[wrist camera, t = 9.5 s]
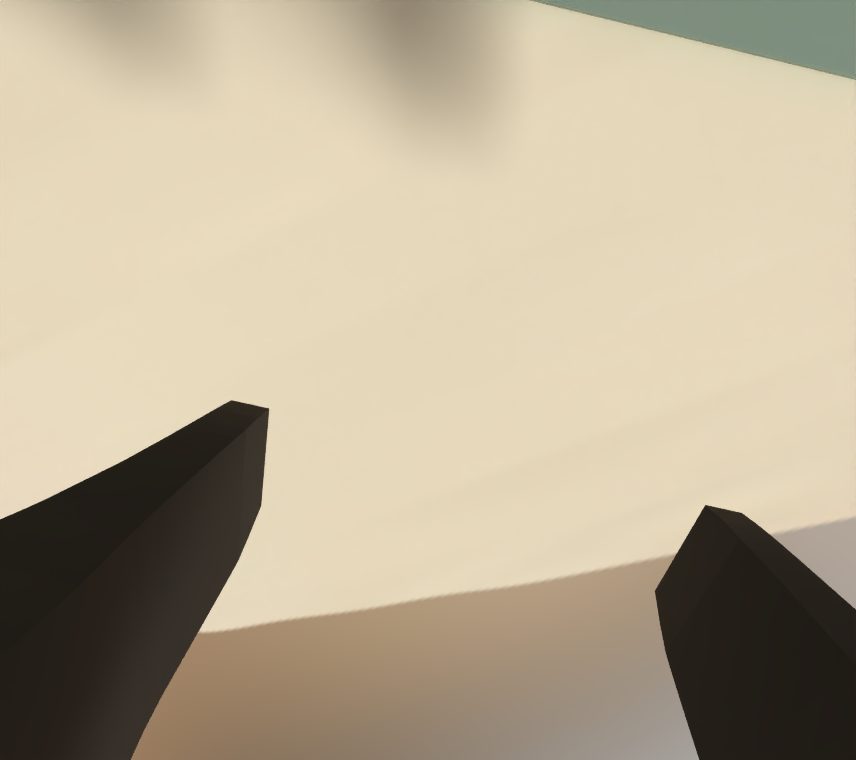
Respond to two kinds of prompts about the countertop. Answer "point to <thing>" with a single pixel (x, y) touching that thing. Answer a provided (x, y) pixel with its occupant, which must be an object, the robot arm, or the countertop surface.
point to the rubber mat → (746, 26)
